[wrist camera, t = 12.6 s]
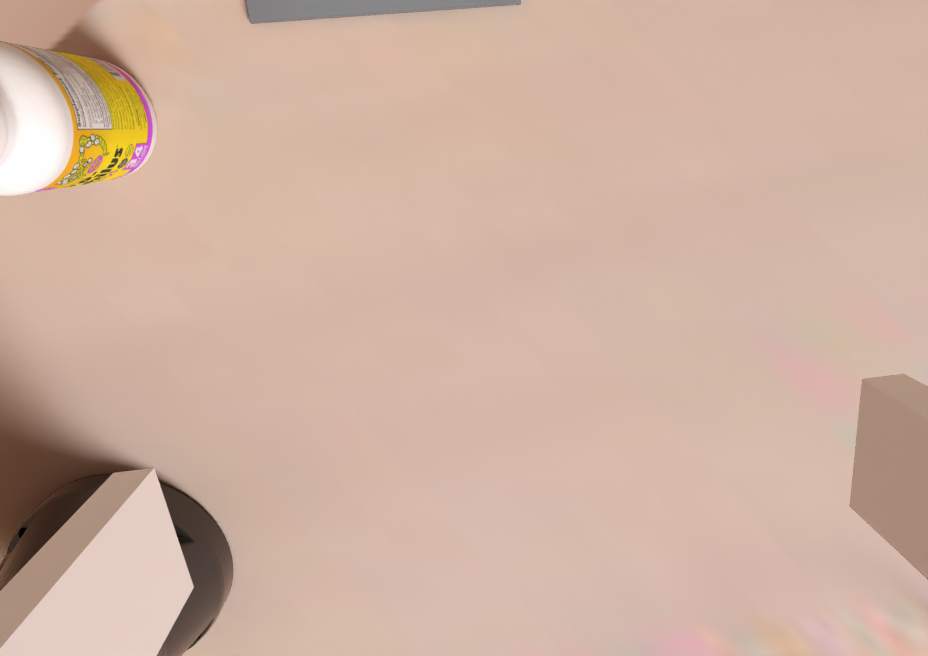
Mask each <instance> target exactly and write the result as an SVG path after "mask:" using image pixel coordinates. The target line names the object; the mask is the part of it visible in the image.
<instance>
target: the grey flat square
mask: <svg viewBox="0 0 928 656" xmlns="http://www.w3.org/2000/svg"><path fill="white" fill-rule="evenodd" d="M246 3H247V9H248V15H249V21H250V23H252V24H254V23H268V22H282V21H296V20H310V19H324V18H338V17H352V16H366V15H380V14H394V13H408V12H422V11H436V10H450V9H464V8H478V7H492V6H506V5H520V4H521V0H246Z"/></svg>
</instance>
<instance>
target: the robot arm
mask: <svg viewBox="0 0 928 656" xmlns="http://www.w3.org/2000/svg"><path fill="white" fill-rule="evenodd" d="M850 507H851V508H852V509H853V510H854V511H855V512H856V513H857V514H858V515H859V516H860V517H861V518H863V519H864V520H865V521H866V522H867V523H868V524H869V525H870V526H871V527H872V528H873V529H874V530H875V531H876V532H877V533H879V534H880V535H881V536H882V537H883V538H884V539H885V540H886V541H887V542H888V543H889V544H890V545H891V546H892V547H894V548H895V549H896V550H897V551H898V552H899V553H900V554H901V555H902V556H903V557H904V558H905V559H906V560H907V561H908V562H910V563H911V564H912V565H913V566H914V567H915V568H916V569H917V570H918V571H919V572H920V573H921V574H922V575H923V576H925V577H926V578H927V579H928V387H927V386H926V385H924V384H922V383H920V382H918V381H916V380H914V379H913V378H911V377H909V376H907V375H905V374H899V375H891V376H883V377H875V378H867V379H862V385H861V395H860V405H859V416H858V426H857V436H856V446H855V456H854V467H853V477H852V487H851V497H850ZM232 580H233V562H232V556H231V552H230V549H229V546H228V544H227V541H226V539H225V537H224V535H223V533H222V532H221V530H220V529H219V527H218V526H217V524H216V523H215V522H214V520H213V519H212V518H211V517H210V516H209V515H208V514H207V513H206V512H205V511H204V510H203V509H202V508H201V507H200V506H199V505H198V504H196V503H195V502H194V501H192V500H191V499H190V498H188V497H187V496H185V495H183V494H182V493H180V492H178V491H176V490H174V489H172V488H170V487H168V486H166V485H163V484H161V483H159V481H158V478H157V475H156V472H155V468H148V469H140V470H132V471H124V472H116V473H113V474H112V475H97V476H91V477H87V478H83V479H80V480H76V481H74V482H71V483H69V484H67V485H65V486H63V487H61V488H60V489H58V490H56V491H55V492H54V493H52V494H51V495H50V496H49V497H48V498H47V499H46V500H44V501H43V502H42V503H41V504H40V505H39V506H38V507H37V508H36V509H35V510H34V511H33V512H32V513H30V514H29V515H28V517H27V518H26V519H25V520H24V521H23V523H22V524H21V525H20V526H19V528H18V529H17V531H16V533H15V535H14V537H13V539H12V541H11V543H10V546H9V548H8V552H7V555H6V556H5V557H4V559H3V560H2V562H1V564H0V656H182V654H183V653H184V652H185V651H186V650H188V649H189V648H191V647H192V646H194V645H195V644H196V643H197V642H198V641H199V640H200V639H201V638H202V637H203V636H204V635H205V634H206V633H207V632H208V631H209V629H210V628H211V627H212V625H213V624H214V622H215V621H216V619H217V617H218V615H219V613H220V611H221V609H222V607H223V605H224V603H225V601H226V599H227V597H228V594H229V592H230V589H231V585H232Z"/></svg>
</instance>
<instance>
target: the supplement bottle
mask: <svg viewBox="0 0 928 656" xmlns="http://www.w3.org/2000/svg"><path fill="white" fill-rule="evenodd" d="M156 137H157V123H156V116H155V113H154V109H153V106H152V104H151V102H150V100H149V98H148V97H147V95H146V93H145V92H144V90H143V89H142V88H141V86H140V85H139V84H138V83H137V82H136V81H135V80H134V79H133V78H132V77H131V76H130V75H129V74H128V73H126V72H125V71H124V70H122V69H120V68H119V67H117V66H115V65H113V64H111V63H109V62H106V61H103V60H99V59H95V58H91V57H85V56H80V55H75V54H68V53H63V52H57V51H51V50H45V49H39V48H33V47H28V46H22V45H17V44H12V43H6V42H1V41H0V195H1V196H11V195H20V194H27V193H33V192H39V191H45V190H51V189H58V188H65V187H71V186H76V185H84V184H89V183H95V182H101V181H107V180H113V179H117V178H121V177H125V176H127V175H130V174H132V173H133V172H135V171H137V170H138V169H139V168H140V167H141V166H143V165H144V163H145V162H146V161H147V160H148V158H149V157H150V155H151V153H152V151H153V149H154V146H155V142H156Z"/></svg>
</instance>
